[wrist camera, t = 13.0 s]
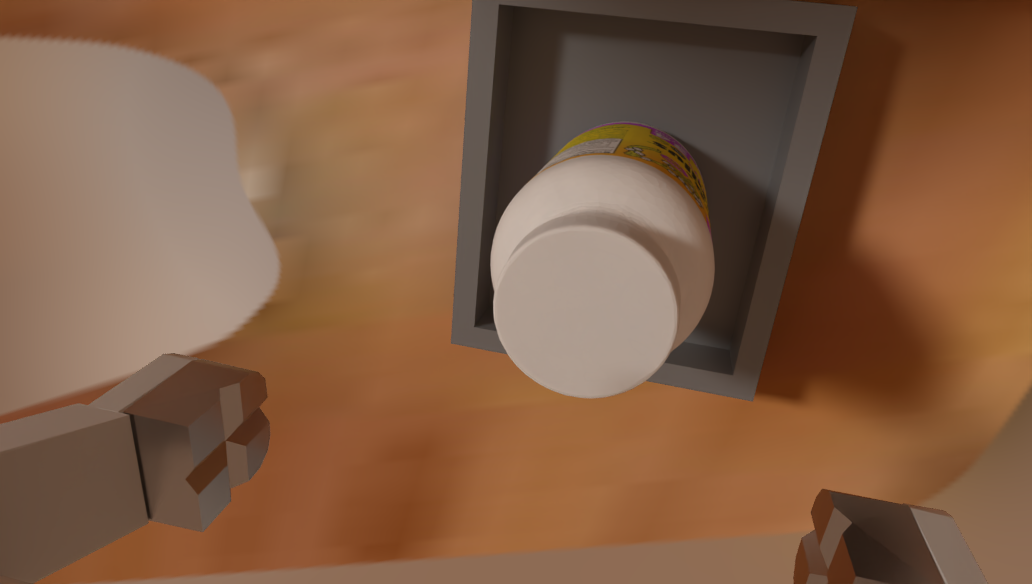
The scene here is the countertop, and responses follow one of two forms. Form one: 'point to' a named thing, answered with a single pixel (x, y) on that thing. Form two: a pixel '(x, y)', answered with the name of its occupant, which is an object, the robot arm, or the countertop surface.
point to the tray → (673, 109)
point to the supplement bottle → (603, 261)
